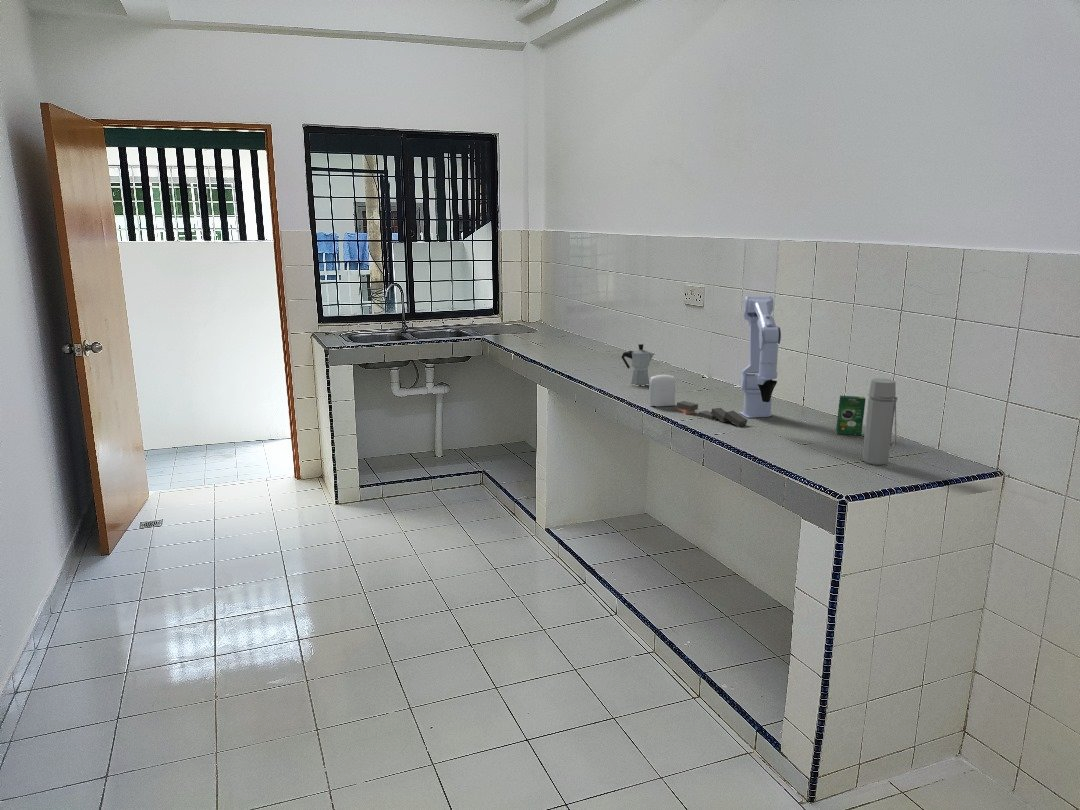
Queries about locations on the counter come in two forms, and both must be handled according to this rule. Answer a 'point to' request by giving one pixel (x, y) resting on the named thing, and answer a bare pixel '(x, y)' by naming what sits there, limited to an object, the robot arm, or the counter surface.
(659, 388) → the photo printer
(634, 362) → the coffee maker
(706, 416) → the domino
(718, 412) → the domino
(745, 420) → the domino
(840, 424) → the coffee box
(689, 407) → the domino
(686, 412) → the terracotta domino
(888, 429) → the water bottle
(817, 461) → the counter surface
